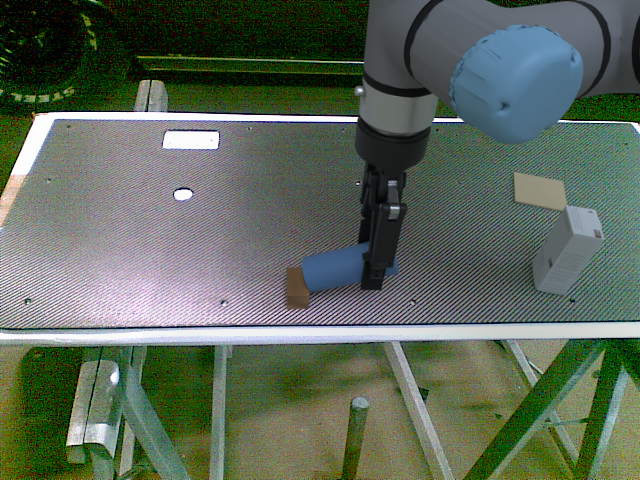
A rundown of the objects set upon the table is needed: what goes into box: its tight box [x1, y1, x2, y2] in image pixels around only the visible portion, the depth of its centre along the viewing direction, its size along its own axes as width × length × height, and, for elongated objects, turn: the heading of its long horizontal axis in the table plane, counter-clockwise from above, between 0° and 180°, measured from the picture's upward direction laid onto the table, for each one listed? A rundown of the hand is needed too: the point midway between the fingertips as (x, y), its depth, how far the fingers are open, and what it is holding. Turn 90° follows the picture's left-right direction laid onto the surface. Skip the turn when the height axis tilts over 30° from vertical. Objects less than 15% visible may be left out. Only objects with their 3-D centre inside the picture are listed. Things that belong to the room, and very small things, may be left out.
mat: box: [512, 171, 568, 213], centre depth 86 cm, size 9×9×1 cm
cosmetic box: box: [531, 205, 605, 296], centre depth 67 cm, size 6×4×12 cm
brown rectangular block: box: [286, 267, 310, 310], centre depth 66 cm, size 3×5×3 cm, turn 3°
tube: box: [301, 242, 400, 294], centre depth 63 cm, size 12×5×5 cm
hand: (368, 271), depth 64 cm, fingers closed on tube, 5 cm apart
